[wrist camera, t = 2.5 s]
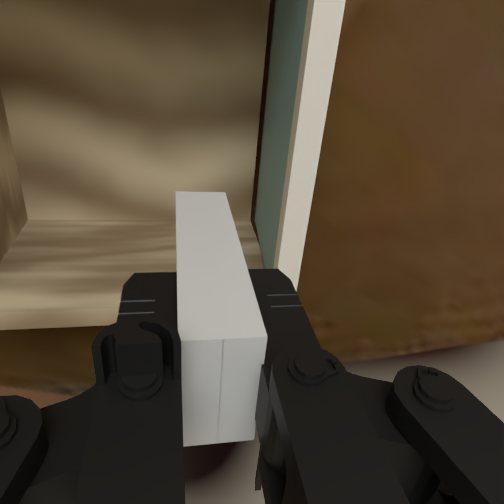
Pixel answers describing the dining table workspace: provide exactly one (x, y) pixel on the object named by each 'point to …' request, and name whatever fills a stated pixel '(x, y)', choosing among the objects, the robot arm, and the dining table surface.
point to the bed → (118, 143)
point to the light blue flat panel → (294, 126)
